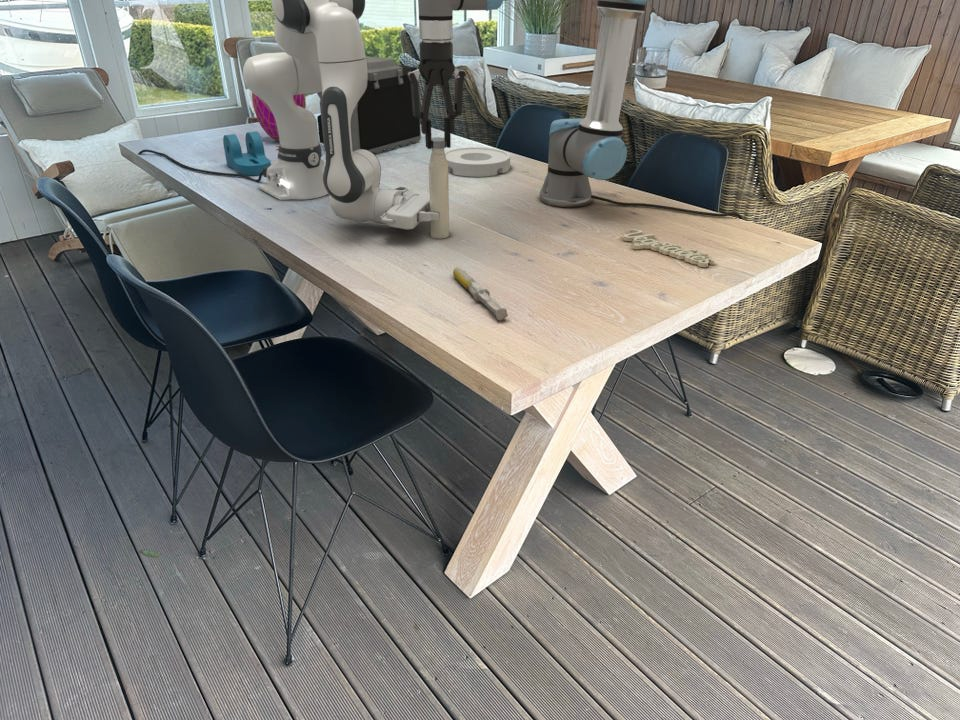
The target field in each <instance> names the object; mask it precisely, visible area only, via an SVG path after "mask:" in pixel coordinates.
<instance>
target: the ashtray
mask: <svg viewBox="0 0 960 720" xmlns="http://www.w3.org/2000/svg"><path fill="white" fill-rule="evenodd" d="M444 153H445V156H446V159H447V163H448V173H452V174H453V175H455V176H460V177H461V176H462V177H472V178H473V177H474V178H478V177H479V178H481V177H483V178H485V177H494V176H497V175H498V174H505V173H507V172H509V171H510V169H511V154H510V153H509V152H507V151H505V150H503V149H502V150H501V149H499V148H498V149H497V148H492V147H482V146H481V147H480V146H467V147H457V148H451V149H448V150H446V151H444Z"/></svg>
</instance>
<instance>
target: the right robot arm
mask: <svg viewBox="0 0 960 720" xmlns="http://www.w3.org/2000/svg"><path fill="white" fill-rule="evenodd" d="M649 1H650V0H597V5H596V9H597V10H598V12H599V13H600V15H601V19H600V26H599V31H598V39H597V45H596V53H595V57H594V65H593V71H592V77H591V82H590V87H589V88H590V89H589V96H588V102H587V108H586V113H585V117H584V118H580V117H579V118H562V119H554V120H553V121H552V122H551V124H550V127H549V128H550V129H549V134H548V136H549V141H548V142H549V143H548V156H547V157H548V159H547V173H546V176H545V178H544V181H543V184H542V187H541V189H540V191H539V200H540V202H542V203H543V204H546V205H549V206H553V207H558V208H559V207H560V208H580V207H584V206H588V205H589V204H591V203H592V199H594V200H598V201H602V202H606V203H610V204H612V205H616V206H617V205H618V206H624V207H625V206H626V207H648V208H655V209H662V210H670V211H676V212H681V213H688V214H694V215H701V216H707V217H708V216H709V217H719V218H720V217H722V218H723V217H731V216H735V217H737V218H738V219H739V220H743V219H744V218H743V216H742V215H741V214H740V213H738V212H735V211H734V212H733V211H732V212H725V213H718V212H717V213H716V212H708V211H700V210H693V209H687V208H680V207H674V206H668V205H661V204H655V203H654V204H653V203H645V202H644V203H642V202H622V201H616V200H613V199H609V198H606V197H601V196H597V195H593V193H592V188H591V184H590V179H594V180H598V181H605V180H609V179H611V178H613V177H615V175H616V174H618V173H619V172H621V170H622V169H623V167H624V165H625V164H626V160H627V156H628V148H627V146H626V144H625V142H624V140H622V136H623V130H624V126H622V124H621V122H620V121H619V120H620V115H621V110H622V104H623V98H624V93H625V86H626V82H627V77H628V70H629V65H630V59H631V54H632V49H633V42H634V37H635V31H636V27H637V22H638V21H637V20H638V19H639V18H640V17H641V16H642V15H644V13H645V12H646V5H647V2H649ZM504 2H507V0H417V5H418V7H417V9H418V38H419V40H421V41H419V44H418V47H419V64H418V66H417V68H418V69H417V70H415V71H413V72H408V73H407V75H408V78H409V80H410V82H411V96H412V110H413V115H414V116H415V117H416V118H419V119H420V122H421V134H422V135H425V136H424V138H425V140H424V141H425V148H427V149H428V150H432V145H431V138H432V120H431V119H429V115H430V113H429V112H430V108H431V102H432V95H433V91H434V87H436V86H440V88H441V92H442V98H443V102H444V107H445V112H446V117H443V133H444V135H443V138H446V139H447V147H446V148H448V149H450V148H451V147H452V145H451V142H452V141H451V140H452V139H451V138H452V137H451V133H454V132H455V119H456V118H457V117H460V116H462V114H463V95H464V93H463V92H464V91H463V90H464V80H465V77H466V71H465V70H463V69H458V68H456V66H455V64H454V44H453V42H452V41H451V40H452V39H453V37H454V31H453V29H454V28H453V24H454V23H453V15H454V14H453V11H486V12H489V11H493V10H494V11H495V10H499V9H501V7H502V5H503V3H504ZM420 76H421V78H422V79H423V80H424V86H423V87H424V88H423V89H424V90H423V96H422V102H420V103H419V95H420V89H419V88H418V87H419V80H420ZM452 76H453V77H454V79H455V80H454V98H453V99H454V100H452V95H451V90H450V87H451V86H450V83H449V80H450V79H451V77H452ZM453 101H454V103H453ZM453 104H454V105H453ZM451 149H452V148H451Z"/></svg>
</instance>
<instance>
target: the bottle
mask: <svg viewBox="0 0 960 720" xmlns="http://www.w3.org/2000/svg"><path fill="white" fill-rule="evenodd" d="M444 152H445V148H442V149H434V148H432V149H431V153H430V157H429V162H428V191H429V197H430V212H433V211H435V212H439V213H440V218H439V219H438V220H429V228H430V231H429V232H430V233H429V234H430V237H432V238H433V239H447V238H448V237H450V200H449V199H450V197H449V196H450V193H449V191H450V187H449V186H450V185H449V172H448V163H447V159H446V156H445V153H444Z"/></svg>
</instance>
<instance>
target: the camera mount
mask: <svg viewBox="0 0 960 720" xmlns="http://www.w3.org/2000/svg"><path fill="white" fill-rule="evenodd" d="M222 140H223V141H222V143H223V149H224V150H223V151H224V156H225V161H226V165H227V166H228V167H230V168H231V169H232V170H234V171H236V172H237V174H242V175H246V176H259V175H260V173H261V172H262V171H263V168H265V167H269V166H271V165H272V163H271V159H270V158H268V157H267V156H266V153H265V145H264V141H263V139H262V136H261V134H260V132H258V131H247V132H246V133H245V146H246V152H243V151H242V150H243V149H242V146H241V142H240V140H239V138H238V135H236V134H235V133H231V134H224V135H223V138H222Z"/></svg>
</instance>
